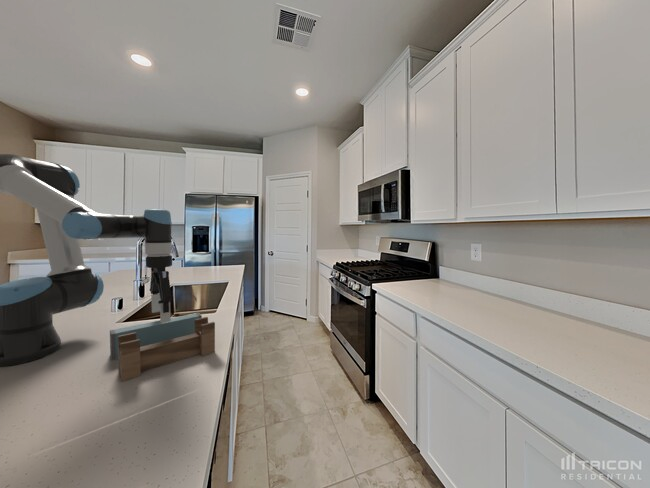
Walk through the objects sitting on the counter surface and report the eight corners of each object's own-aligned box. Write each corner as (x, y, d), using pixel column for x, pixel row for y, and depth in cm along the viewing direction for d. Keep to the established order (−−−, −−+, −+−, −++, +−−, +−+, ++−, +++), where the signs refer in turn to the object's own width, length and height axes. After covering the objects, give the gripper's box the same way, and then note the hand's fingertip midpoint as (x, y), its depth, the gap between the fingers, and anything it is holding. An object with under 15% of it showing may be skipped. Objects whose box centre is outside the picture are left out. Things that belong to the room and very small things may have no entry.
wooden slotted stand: (118, 370, 71) (118, 335, 71) (206, 344, 88) (206, 316, 88) (121, 381, 66) (121, 344, 66) (214, 352, 83) (214, 322, 82)
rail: (110, 355, 80) (109, 330, 79) (198, 333, 98) (198, 312, 97) (111, 360, 77) (111, 334, 76) (201, 336, 95) (201, 315, 94)
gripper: (181, 257, 79) (183, 323, 80) (163, 252, 97) (164, 306, 98) (153, 259, 74) (155, 329, 75) (139, 253, 92) (141, 310, 93)
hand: (160, 316), depth 87 cm, fingers open, 13 cm apart
